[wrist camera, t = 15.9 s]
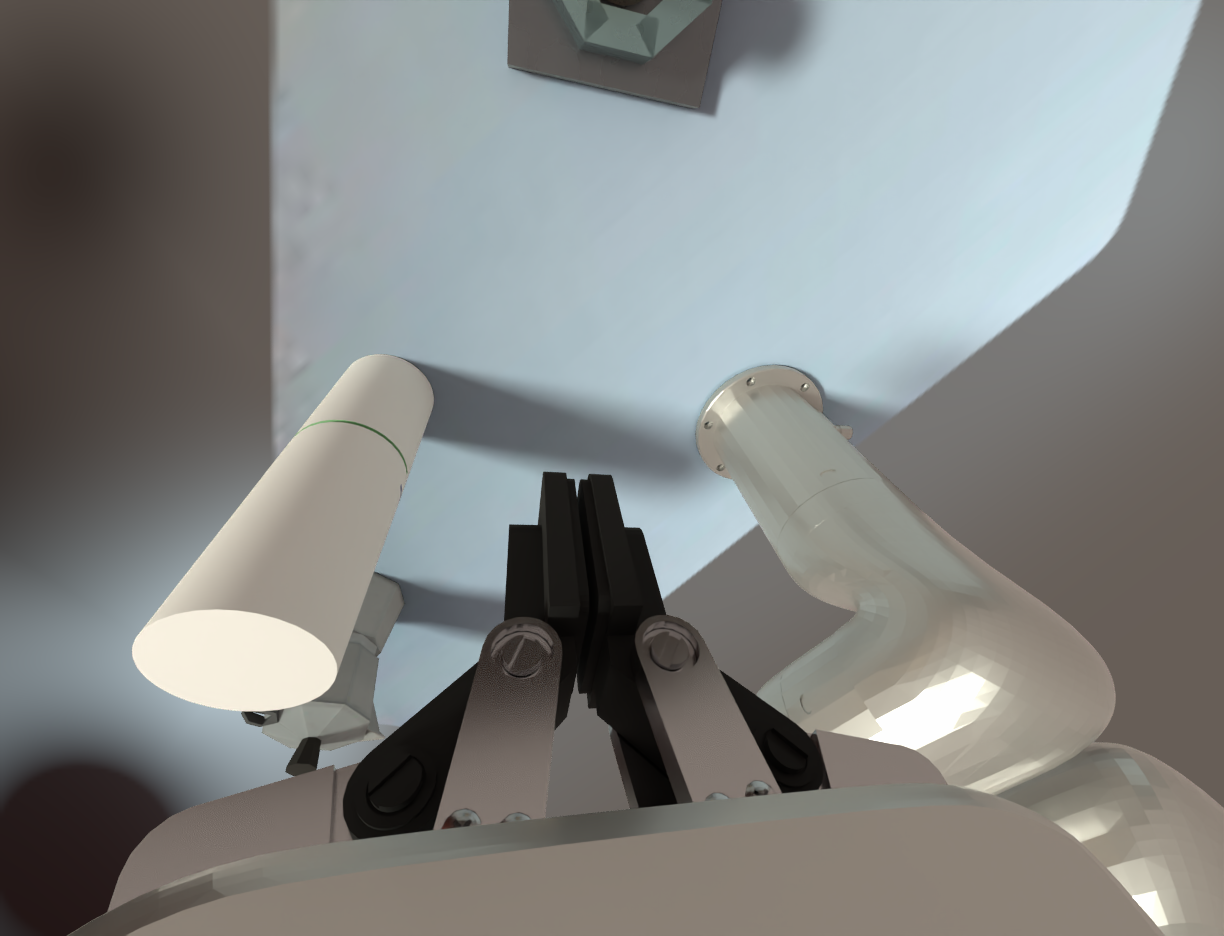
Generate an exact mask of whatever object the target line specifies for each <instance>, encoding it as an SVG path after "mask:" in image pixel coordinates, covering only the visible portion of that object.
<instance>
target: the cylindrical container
mask: <svg viewBox="0 0 1224 936" xmlns="http://www.w3.org/2000/svg"><path fill="white" fill-rule="evenodd" d="M433 405H434V395H433V390H432V388H431V385H430V383H429V381H428V380H427V378H426V377H425V375H424V374H423V373H422V372H421V371H420V370H419V369H418V368H416V367H415V366H414V365H412V364H411V363H409V362H407V361H405V360H404V359H401V358H398V357H395V356H391V355H385V354H375V355H368V356H365V357H363V358H360V359H358V360H357V361H355V362H354V363H352V365H351V366H350V367H349V368H348V369H347V370H346V372H345V373H344V374H343V375H342V377H341V378H340V379H339V380H338V382H337V383H336V384H335V386H334V387H333V388H332V389H331V391H330V392H329V393H328V394H327V396H326V397H325V398H324V400H323V401H322V402H321V403H320V405H319V406H318V407H317V408H316V410H315V411H314V412H313V413H312V415H311V416H310V417H309V419H308V420H307V421H306V422H305V424H304V425H303V426H302V427H301V429H300V430H299V431H298V432H297V434H296V435H295V436H294V438H293V439H292V440H291V441H290V443H289V444H288V445H287V446H286V448H285V449H284V450H283V451H282V453H281V454H280V455H279V456H278V458H277V459H276V460H275V462H274V463H273V464H272V465H271V467H270V468H269V469H268V470H267V472H266V473H265V474H264V476H263V477H262V478H261V479H260V481H259V482H258V483H257V484H256V486H255V487H254V488H253V489H252V491H251V492H250V493H249V495H248V496H247V497H246V498H245V500H244V501H243V502H242V503H241V505H240V506H239V507H238V509H237V510H236V511H235V512H234V514H233V515H232V516H231V518H230V519H229V520H228V521H227V523H226V524H225V525H224V526H223V528H222V529H221V530H220V531H219V533H218V534H217V535H216V537H215V538H214V539H213V540H212V542H211V543H210V544H209V545H208V547H207V548H206V549H205V550H204V552H203V553H202V554H201V556H200V557H199V558H198V559H197V561H196V562H195V563H194V564H193V566H192V567H191V568H190V570H189V571H188V572H187V573H186V575H185V576H184V577H183V578H182V580H181V581H180V582H179V584H178V585H177V586H176V587H175V589H174V590H173V591H172V593H171V594H170V595H169V596H168V597H167V599H166V600H165V601H164V603H163V604H162V605H161V606H160V608H159V609H158V610H157V611H156V613H155V614H154V615H153V617H152V618H151V619H150V620H149V622H148V623H147V624H146V625H145V627H144V628H143V629H142V631H141V632H140V633H139V634H138V636H137V637H136V638H135V641H134V644H133V647H132V655H133V659H134V662H135V664H136V666H137V668H138V669H139V670H140V672H141V673H142V674H143V675H144V676H145V677H146V678H147V679H148V680H149V681H151V682H152V683H154V684H155V685H156V686H157V687H159V688H161V689H163V690H165V691H166V692H168V693H170V694H172V695H174V696H177V697H179V698H182V699H184V700H187V701H190V702H194V703H197V704H201V705H204V706H208V707H213V708H219V709H225V710H235V711H271V710H280V709H285V708H290V707H295V706H298V705H301V704H304V703H307V702H309V701H311V700H313V699H315V698H317V697H319V696H321V695H322V694H323V693H324V692H326V691H327V690H328V689H329V688H330V687H331V685H332V684H333V683H334V681H335V679H336V676H337V673H338V670H339V668H340V665H341V662H342V659H343V656H344V654H345V651H346V648H347V645H348V642H349V640H350V637H351V634H352V631H353V629H354V626H355V623H356V620H357V617H358V615H359V612H360V609H361V606H362V603H363V601H364V598H365V595H366V592H367V589H368V587H369V584H370V581H371V578H372V575H373V573H374V570H375V567H376V564H377V562H378V559H379V556H380V553H381V551H382V548H383V545H384V542H385V540H386V537H387V534H388V531H389V528H390V526H391V523H392V520H393V517H394V515H395V512H396V509H397V506H398V503H399V501H400V498H401V495H402V492H403V490H404V487H405V484H406V481H407V478H408V476H409V473H410V470H411V467H412V464H413V462H414V459H415V456H416V453H417V450H418V448H419V445H420V442H421V439H422V437H423V434H424V431H425V428H426V426H427V423H428V420H429V417H430V415H431V412H432V409H433Z"/></svg>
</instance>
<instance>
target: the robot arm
mask: <svg viewBox="0 0 1224 936" xmlns="http://www.w3.org/2000/svg"><path fill="white" fill-rule="evenodd" d="M852 434H853V429H852V428H851V427H850V426H844V425H834V424H833V423H832V422H831V421H830V420H829V419H828V418H827V417H825V416H824V415H823V404H822V398H821V395H820V393H819V390H818V389H817V387H816V386H815V384H814V383H813V382H812V381H811V380H810V379H809V378H808V377H807V376H805V375H804V374H802V373H801V372H799V371H798V370H796V369H793V368H790V367H787V366H780V365H767V366H760V367H756V368H752V369H749V370H746V371H744V372H742V373H740V374H737V375H736V376H734V377H733V378H731V379H730V380H728V381H726V382H725V383H724V384H723V385H722V386H720V387H719V388H718V389H717V390H716V391H715V392H714V393H713V395H712V396H711V397H710V398H709V399H708V401H707V402H706V404H705V406H704V407H703V409H702V411H701V413H700V416H699V419H698V421H697V426H696V433H695V435H696V445H697V448H698V451H699V453H700V455H701V457H702V459H703V461H704V462H705V463H706V465H707V466H708V467H709V468H710V469H711V470H712V471H713V472H715V473H716V474H718V475H720V476H722V477H725V478H728V479H733V481H734V482H735V484H736V486H737V487H738V489H739V491H740V493H741V494H742V496H743V498H744V499H745V501H746V503H747V504H748V506H749V508H750V509H751V511H752V513H753V514H754V516H755V518H756V520H757V521H758V523H759V525H760V526H761V528H762V529H763V531H764V533H765V535H766V536H767V538H768V540H769V542H770V543H771V545H772V546H773V548H774V550H775V552H776V553H777V555H778V557H779V558H780V560H781V561H782V563H783V565H784V567H785V568H786V570H787V571H788V573H789V575H790V576H791V577H792V578H793V580H794V581H795V582H796V583H797V584H798V585H799V586H800V587H801V588H802V589H804V590H805V591H806V592H807V593H809V594H810V595H812V596H814V597H816V598H818V599H820V600H822V601H824V602H827V603H829V604H832V605H835V606H838V607H841V608H844V609H848V610H852V611H855V612H856V614H855V616H854V617H853V618H852V619H851V620H850V621H848V622H847V623H846V624H845V625H843V626H842V627H841V628H839V629H838V630H837V631H836V632H835V633H834V634H833V635H831V636H830V637H829V638H827V639H826V640H824V641H823V642H821V643H820V644H818V645H817V646H816V647H814V648H813V649H811V650H810V651H809V652H807V653H806V654H804V655H803V656H801V657H800V658H799V659H797V660H796V661H794V662H793V663H792V664H790V665H788V666H787V667H786V668H785V669H783V670H782V671H781V672H779V673H778V674H777V675H775V676H774V677H773V678H772V679H770V680H769V681H768V682H767V683H766V684H765V685H764V686H763V687H762V688H761V689H760V690H759V692H758V693H757V694H756V695H755V694H753V693H752V692H750V691H749V690H748V689H746V688H745V687H743V686H742V685H741V684H739V683H738V682H736V681H735V680H734V679H732V678H731V677H729V676H728V675H726V674H725V673H724V672H722V671H721V670H719V669H718V666H717V664H716V663H715V661H714V659H713V657H712V655H711V653H710V651H709V649H708V647H707V645H706V643H705V641H704V639H703V638H702V636H701V635H700V633H699V632H698V630H696V629H695V628H694V627H693V626H692V625H691V624H690V623H688V622H686V621H684V620H682V619H680V618H678V617H674V616H670V615H666V612H665V608H664V605H663V601H662V598H661V594H660V591H659V587H658V584H657V580H656V577H655V573H654V570H653V566H652V563H651V559H650V556H649V552H648V549H647V545H646V542H645V538H644V535H643V532H642V530H641V529H640V528H628V527H624V523H623V519H622V515H621V511H620V507H619V503H618V499H617V494H616V490H615V486H614V482H613V478H612V476H611V475H600V474H589V476H588V479H587V480H583V479H581V480H580V483H579V489H578V496H577V495H576V487H575V480H574V479H567V476H566V473H559V472H543V478H542V488H541V498H540V509H539V519H538V525H510V524H509V541H508V560H507V578H506V597H505V615H504V622H502V623H501V624H499V625H497V626H496V627H495V628H494V629H493V630H492V631H491V632H490V633H489V634H488V635H487V638H486V640H485V642H484V644H483V647H482V650H481V654H480V658H479V661H478V662H477V663H476V664H475V665H474V666H472V667H471V668H470V669H469V670H468V671H467V672H465V673H464V674H463V675H462V676H461V677H459V678H458V679H457V680H456V681H455V682H453V683H452V684H451V685H450V686H449V687H447V688H446V689H445V690H444V691H443V692H441V693H440V694H439V695H438V696H437V697H436V698H434V699H433V700H432V701H431V702H430V703H428V704H427V705H426V706H425V707H424V708H422V709H421V710H420V711H419V712H418V713H416V714H415V715H414V716H413V717H412V718H410V719H409V720H408V721H407V722H406V723H404V724H403V725H402V726H401V727H400V728H399V729H397V730H396V731H395V732H394V733H393V734H392V735H390V736H389V737H388V738H387V739H385V740H384V741H383V742H382V743H381V744H380V745H378V746H377V747H376V748H375V749H373V750H372V751H371V752H370V753H369V754H368V755H367V756H366V757H365V758H364V759H363V760H362V761H361V762H360V763H357V764H353V765H350V766H347V767H343V768H340V769H337V770H336V769H335V766H334V765H332V766H328V767H325V768H322V769H318V770H315V771H312V772H308V773H305V774H301V775H298V776H295V777H292V778H288V779H285V780H281V781H278V782H274V783H271V784H268V785H264V786H261V787H258V788H254V789H251V790H248V791H245V792H241V793H237V794H234V795H231V796H227V797H224V798H221V799H217V800H214V801H210V802H207V803H204V804H200V805H197V806H194V807H191V808H189V809H187V810H184V811H182V812H180V813H178V814H176V815H173V816H171V817H170V818H168V819H167V820H166V821H164V822H163V823H162V824H161V825H159V826H158V827H156V828H155V829H154V830H152V831H151V832H150V833H149V834H148V835H147V836H146V837H145V838H144V839H143V841H142V842H141V843H140V844H139V845H138V846H137V847H136V849H135V850H134V851H133V852H132V853H131V855H130V857H129V858H128V860H127V862H126V864H125V866H124V868H123V870H122V872H121V874H120V876H119V879H118V882H117V885H116V888H115V891H114V894H113V897H112V900H111V903H110V906H109V909H108V912H107V913H106V914H104V915H102V916H100V917H98V918H96V919H94V920H92V921H91V922H89V923H87V924H86V925H84V926H82V927H81V928H79V929H78V930H76V931H74V932H73V933H71V934H69V935H68V936H1224V808H1223V807H1222V806H1220V805H1219V804H1218V803H1217V802H1216V801H1215V800H1214V799H1212V798H1211V797H1210V796H1209V795H1208V794H1206V793H1205V792H1204V791H1203V790H1202V789H1200V788H1199V787H1198V786H1196V785H1195V784H1194V783H1192V782H1191V781H1190V780H1188V779H1187V778H1186V777H1184V776H1183V775H1182V774H1180V773H1179V772H1177V771H1176V770H1174V769H1172V768H1171V767H1169V766H1168V765H1166V764H1164V763H1163V762H1161V761H1160V760H1158V759H1156V758H1155V757H1153V756H1151V755H1148V754H1146V753H1143V752H1141V751H1139V750H1137V749H1134V748H1132V747H1128V746H1125V745H1121V744H1115V743H1093V742H1094V741H1095V740H1096V739H1097V738H1098V737H1099V735H1100V734H1101V733H1102V732H1103V731H1104V729H1105V728H1106V726H1107V725H1108V723H1109V721H1110V719H1111V717H1112V715H1113V711H1114V707H1115V696H1116V695H1115V688H1114V683H1113V680H1112V677H1111V674H1110V672H1109V670H1108V668H1107V666H1106V664H1105V663H1104V661H1103V659H1102V658H1101V656H1100V655H1099V654H1098V653H1097V651H1096V650H1095V649H1094V648H1093V646H1092V645H1091V644H1090V643H1089V642H1088V641H1087V640H1086V639H1085V638H1084V637H1083V636H1081V634H1080V633H1079V632H1078V631H1077V630H1076V629H1075V628H1074V627H1072V626H1071V625H1070V624H1069V623H1068V622H1067V621H1065V620H1064V619H1063V618H1062V617H1060V616H1059V615H1058V614H1057V613H1055V612H1054V611H1053V610H1052V609H1050V608H1049V607H1048V606H1047V605H1045V604H1044V603H1042V602H1041V601H1039V600H1038V599H1037V598H1035V597H1034V596H1032V595H1031V594H1029V593H1028V592H1027V591H1025V590H1024V589H1022V588H1021V587H1019V586H1018V585H1017V584H1015V583H1014V582H1012V581H1011V580H1010V579H1008V578H1007V577H1005V576H1004V575H1002V574H1001V573H999V572H998V571H997V570H995V569H994V568H992V567H991V566H990V565H988V564H987V563H985V562H984V561H983V560H981V559H980V558H979V557H977V556H976V555H975V554H973V553H972V552H971V551H969V550H968V549H967V548H966V547H964V546H963V545H962V544H960V543H959V542H958V541H957V540H955V539H954V538H953V537H951V536H950V535H949V534H948V533H947V532H946V531H945V530H943V529H942V528H941V527H940V526H939V525H938V524H937V523H935V522H934V521H933V520H932V519H931V518H930V517H929V516H927V515H926V514H925V513H924V512H923V511H922V510H921V509H920V508H919V507H917V506H916V505H915V504H914V503H913V502H912V501H911V500H910V499H909V498H908V497H907V496H906V495H905V494H904V493H903V492H902V491H900V490H899V489H898V488H897V487H896V486H895V485H894V484H893V483H892V482H891V481H890V480H888V479H887V478H886V477H885V476H884V475H883V474H882V473H881V472H880V471H879V470H878V469H877V468H876V467H875V466H874V465H873V464H872V463H871V462H870V461H869V460H868V459H867V458H865V457H864V456H863V455H862V454H861V453H860V452H859V451H858V450H857V449H856V448H855V447H854V446H853V445H852V444H851V443H850V442H849V441H848V440H849V439H850V438H851V437H852ZM576 673H577V683H578V691H579V694H582V693H587V699H588V708H596V709H597V715H598V716H599V717H600V718H601V719H603V720H604V721H605V722H606V723H607V724H608V725H609V734H610V739H611V742H612V746H613V750H614V753H615V757H616V761H617V764H618V768H619V771H620V775H621V779H622V782H623V786H624V789H625V793H626V797H627V801H628V804H629V808H630V809H626V810H618V811H607V812H598V813H588V814H579V815H570V816H560V817H552V818H545V813H546V804H547V795H548V785H549V776H550V775H549V774H550V766H551V757H552V747H553V737H554V731H555V730H556V728H557V727H558V726H559V725H560V724H561V723H562V722H563V720H564V719H565V718H566V717H567V713H568V708H569V703H570V698H571V694H572V692H573V687H574V682H575V678H576Z"/></svg>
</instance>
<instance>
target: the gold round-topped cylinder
mask: <svg viewBox="0 0 1224 936" xmlns="http://www.w3.org/2000/svg"><path fill="white" fill-rule="evenodd" d="M608 1H609V2H611V3H613V4H616V5H621V6H629V5H633V4H636V3H638V2H640V1H642V0H608Z"/></svg>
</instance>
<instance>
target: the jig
mask: <svg viewBox="0 0 1224 936" xmlns="http://www.w3.org/2000/svg"><path fill="white" fill-rule="evenodd" d="M721 4H722V0H642V1H640V2H638V3H636V4H633V5H629V6H621V5H616V4H613V3H611V2H609V1H608V0H509V28H508V67H510V68H514V69H519V70H523V71H527V72H532V73H536V74H541V75H545V76H550V77H554V78H558V79H563V80H567V81H572V82H576V83H581V84H585V85H589V86H594V87H598V88H603V89H607V90H612V91H616V92H620V93H625V94H629V95H634V96H638V97H643V98H647V99H651V100H656V101H660V102H665V103H669V104H674V105H678V106H682V107H687V108H691V109H695V108H699V107H700V103H701V98H702V93H703V88H704V84H705V79H706V74H707V70H708V65H709V60H710V55H711V51H712V46H713V41H714V37H715V32H716V27H717V23H718V18H719V13H720V8H721Z"/></svg>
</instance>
